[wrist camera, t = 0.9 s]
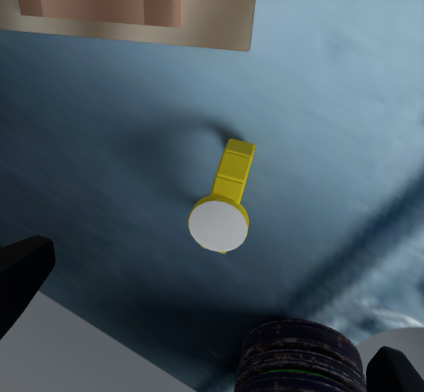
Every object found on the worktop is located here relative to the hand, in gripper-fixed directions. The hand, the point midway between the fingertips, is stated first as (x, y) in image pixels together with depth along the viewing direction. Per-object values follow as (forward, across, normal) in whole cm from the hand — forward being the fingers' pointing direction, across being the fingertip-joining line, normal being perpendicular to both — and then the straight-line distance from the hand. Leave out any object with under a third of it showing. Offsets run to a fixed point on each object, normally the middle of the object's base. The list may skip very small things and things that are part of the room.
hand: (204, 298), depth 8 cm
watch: (+12, +1, +2) cm, 12 cm away
